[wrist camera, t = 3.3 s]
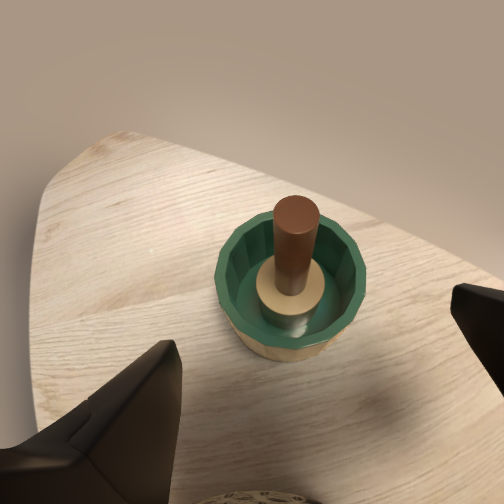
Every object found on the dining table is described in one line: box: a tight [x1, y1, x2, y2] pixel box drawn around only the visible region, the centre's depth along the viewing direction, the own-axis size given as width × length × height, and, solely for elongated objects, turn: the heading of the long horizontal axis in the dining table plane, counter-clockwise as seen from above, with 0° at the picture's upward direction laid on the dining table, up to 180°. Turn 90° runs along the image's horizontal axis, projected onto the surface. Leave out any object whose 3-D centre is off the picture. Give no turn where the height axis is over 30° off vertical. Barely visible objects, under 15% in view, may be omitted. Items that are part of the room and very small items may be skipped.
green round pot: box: [214, 211, 366, 362], centre depth 20 cm, size 8×8×6 cm
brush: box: [256, 195, 325, 329], centre depth 17 cm, size 4×4×10 cm
